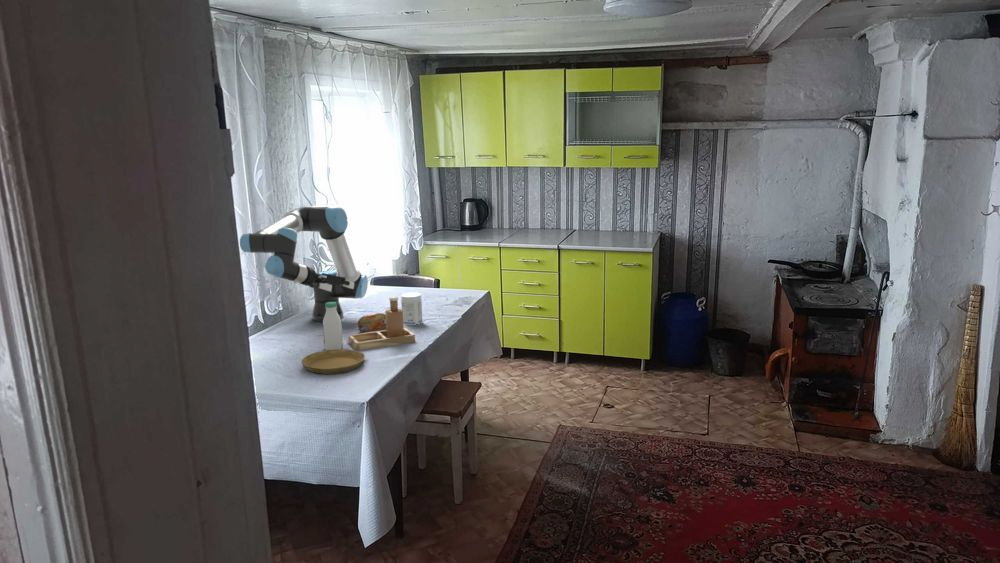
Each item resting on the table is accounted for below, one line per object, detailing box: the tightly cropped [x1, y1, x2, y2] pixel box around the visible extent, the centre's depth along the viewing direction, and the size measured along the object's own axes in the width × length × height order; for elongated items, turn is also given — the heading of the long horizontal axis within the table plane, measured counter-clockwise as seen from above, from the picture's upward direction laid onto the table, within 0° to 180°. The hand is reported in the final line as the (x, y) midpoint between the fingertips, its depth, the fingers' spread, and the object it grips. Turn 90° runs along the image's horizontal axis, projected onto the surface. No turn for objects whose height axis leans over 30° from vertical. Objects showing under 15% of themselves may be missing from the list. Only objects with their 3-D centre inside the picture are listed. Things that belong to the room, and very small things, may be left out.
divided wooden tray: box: [348, 326, 416, 351], centre depth 290 cm, size 13×26×4 cm, turn 117°
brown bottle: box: [384, 296, 405, 338], centre depth 291 cm, size 8×8×19 cm
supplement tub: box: [400, 292, 423, 326], centre depth 319 cm, size 10×10×15 cm
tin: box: [357, 312, 386, 333], centre depth 308 cm, size 15×3×8 cm, turn 129°
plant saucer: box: [301, 348, 366, 375], centre depth 264 cm, size 24×24×3 cm
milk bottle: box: [322, 302, 344, 351], centre depth 283 cm, size 8×8×20 cm
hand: (342, 287), depth 284 cm, fingers open, 13 cm apart
